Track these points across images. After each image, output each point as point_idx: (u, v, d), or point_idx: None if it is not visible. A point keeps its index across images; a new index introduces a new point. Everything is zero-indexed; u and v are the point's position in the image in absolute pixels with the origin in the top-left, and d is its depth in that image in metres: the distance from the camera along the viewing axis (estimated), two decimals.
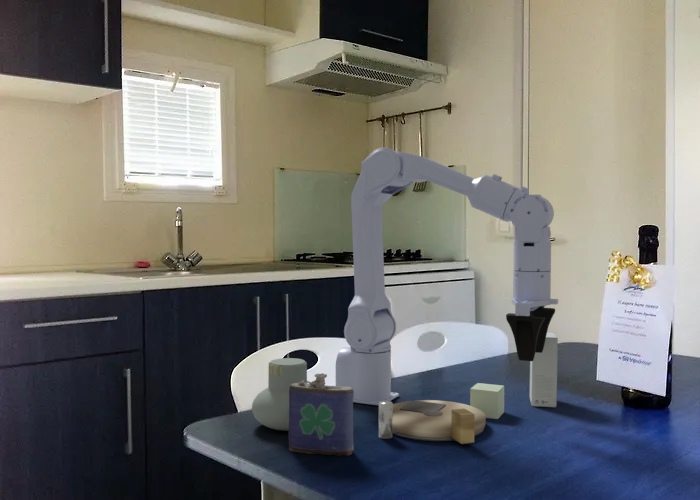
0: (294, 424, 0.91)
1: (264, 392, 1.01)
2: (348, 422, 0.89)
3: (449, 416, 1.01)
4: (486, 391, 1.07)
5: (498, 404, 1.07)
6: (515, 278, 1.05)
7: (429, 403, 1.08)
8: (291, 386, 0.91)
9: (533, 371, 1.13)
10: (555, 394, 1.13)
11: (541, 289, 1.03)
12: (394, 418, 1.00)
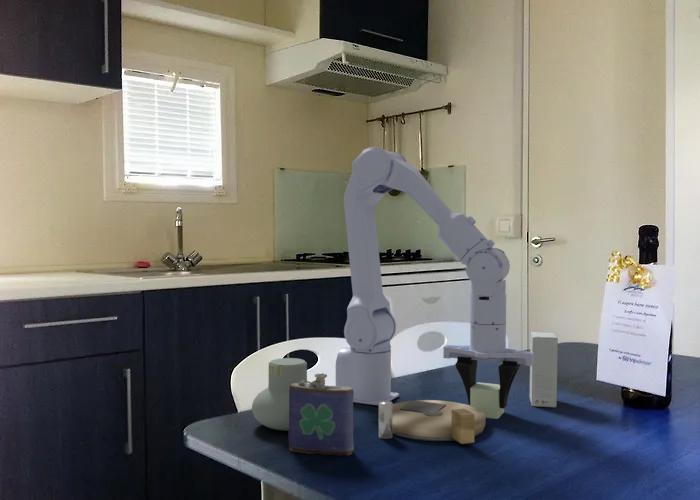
0: (294, 424, 0.91)
1: (264, 392, 1.01)
2: (348, 422, 0.89)
3: (449, 416, 1.01)
4: (486, 390, 1.07)
5: (498, 403, 1.07)
6: None
7: (429, 403, 1.08)
8: (291, 386, 0.91)
9: (533, 371, 1.13)
10: (555, 394, 1.13)
11: (472, 339, 1.08)
12: (394, 418, 1.00)
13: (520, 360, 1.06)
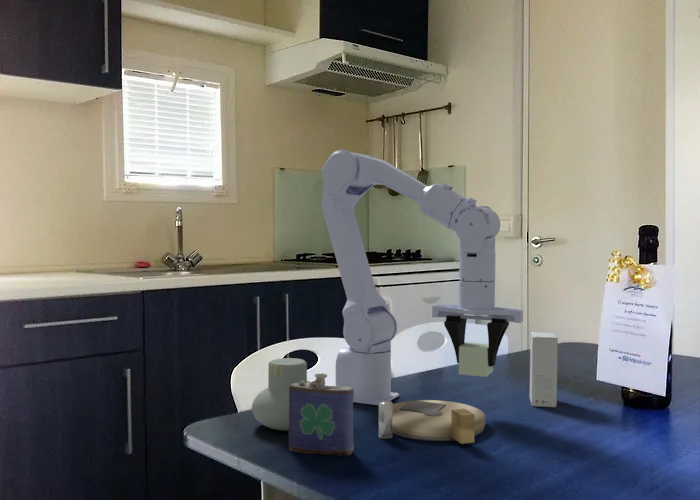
0: (294, 424, 0.91)
1: (264, 392, 1.01)
2: (348, 422, 0.89)
3: (449, 416, 1.01)
4: (475, 348, 1.06)
5: (487, 361, 1.06)
6: None
7: (429, 403, 1.08)
8: (291, 386, 0.91)
9: (533, 371, 1.13)
10: (555, 394, 1.13)
11: (460, 297, 1.07)
12: (394, 418, 1.00)
13: (509, 317, 1.06)
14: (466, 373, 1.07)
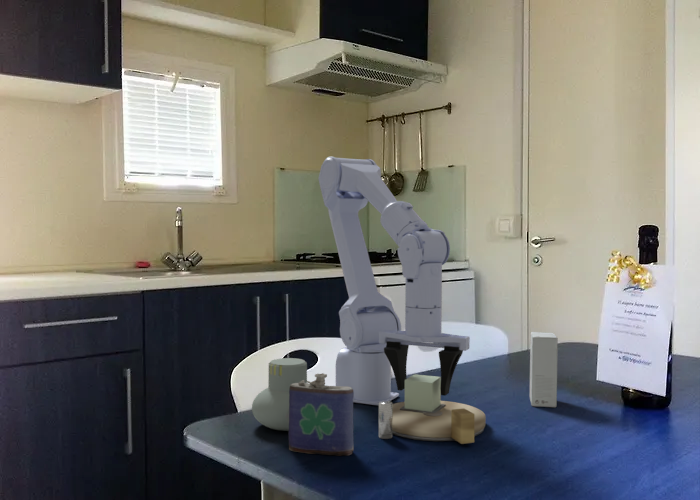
0: (294, 424, 0.91)
1: (264, 392, 1.01)
2: (348, 422, 0.89)
3: (449, 416, 1.01)
4: (420, 382, 1.04)
5: (432, 396, 1.04)
6: None
7: None
8: (291, 386, 0.91)
9: (533, 371, 1.13)
10: (555, 394, 1.13)
11: (406, 324, 1.05)
12: (394, 418, 1.00)
13: (455, 345, 1.03)
14: (412, 407, 1.04)
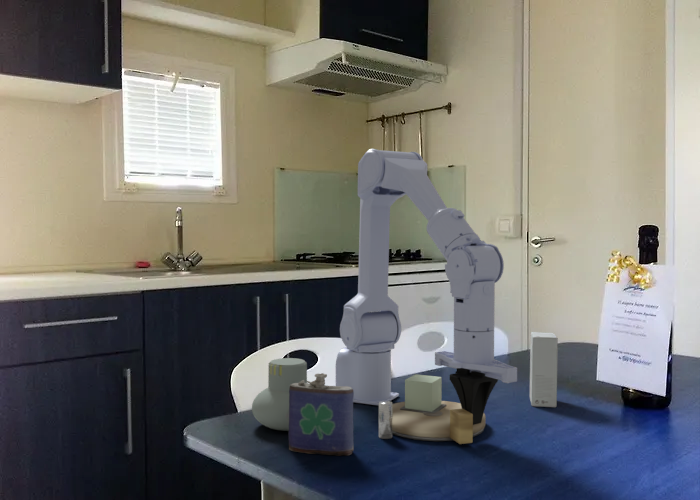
0: (294, 424, 0.91)
1: (264, 392, 1.01)
2: (348, 422, 0.89)
3: (449, 416, 1.01)
4: (420, 382, 1.04)
5: (433, 396, 1.04)
6: None
7: None
8: (291, 386, 0.91)
9: (533, 371, 1.13)
10: (555, 394, 1.13)
11: None
12: (393, 418, 1.00)
13: (500, 375, 0.91)
14: (412, 407, 1.05)
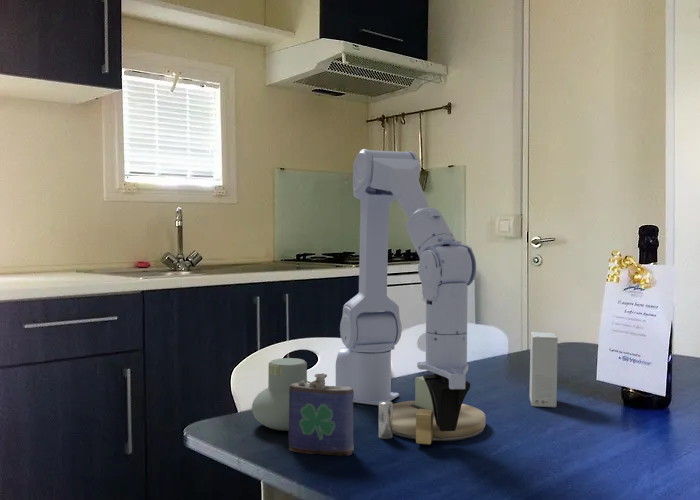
0: (294, 424, 0.91)
1: (264, 392, 1.01)
2: (348, 422, 0.89)
3: None
4: None
5: None
6: None
7: None
8: (291, 386, 0.91)
9: (533, 371, 1.13)
10: (555, 394, 1.13)
11: None
12: None
13: None
14: (420, 405, 1.06)
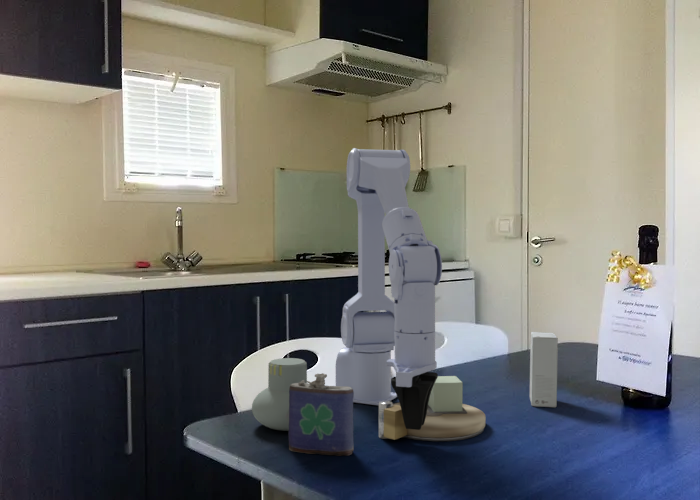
0: (294, 424, 0.91)
1: (264, 392, 1.01)
2: (348, 422, 0.89)
3: (433, 418, 1.00)
4: None
5: (437, 396, 1.03)
6: None
7: None
8: (291, 386, 0.91)
9: (533, 371, 1.13)
10: (555, 394, 1.13)
11: None
12: None
13: None
14: (429, 404, 1.06)
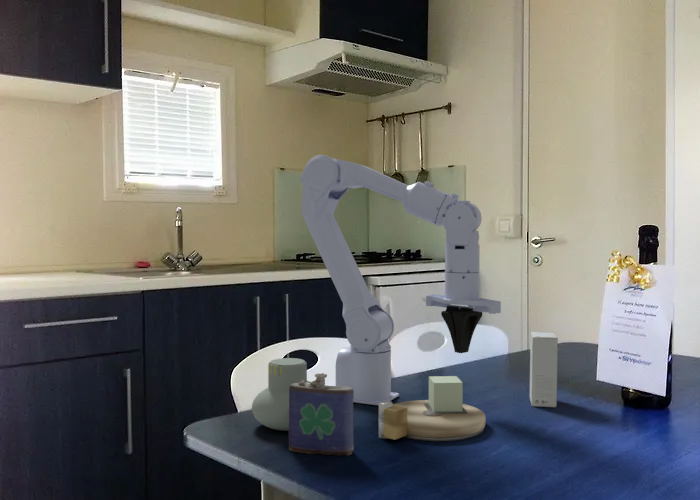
0: (294, 423, 0.91)
1: (264, 392, 1.01)
2: (348, 422, 0.89)
3: (433, 418, 1.00)
4: (431, 381, 1.05)
5: (437, 396, 1.03)
6: None
7: None
8: (291, 386, 0.91)
9: (533, 371, 1.13)
10: (555, 394, 1.13)
11: (445, 287, 1.13)
12: None
13: (486, 308, 1.08)
14: (430, 404, 1.06)
